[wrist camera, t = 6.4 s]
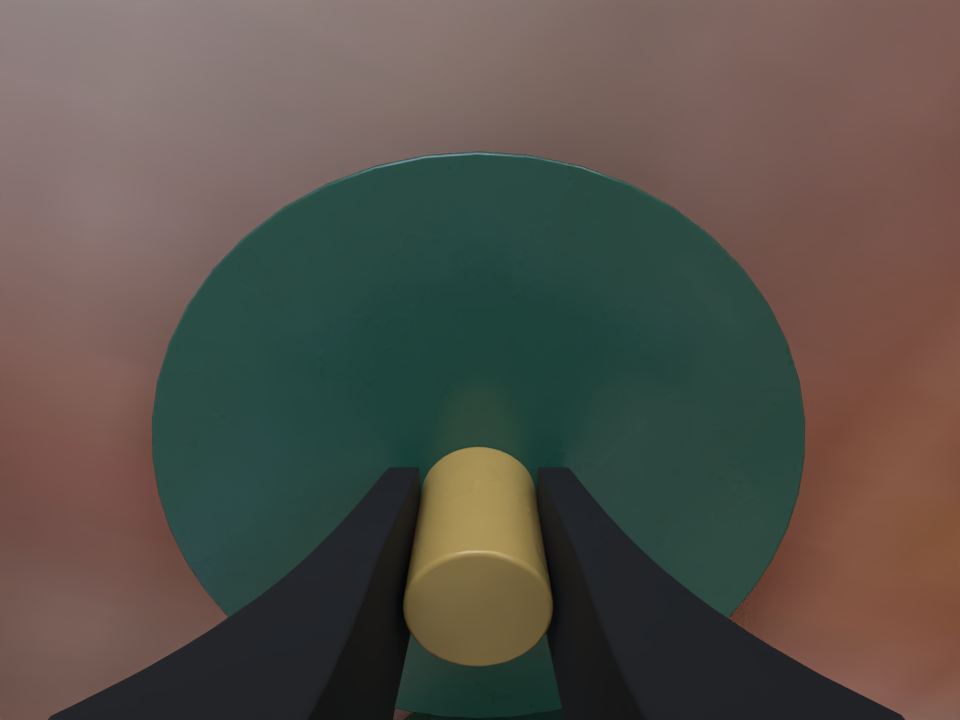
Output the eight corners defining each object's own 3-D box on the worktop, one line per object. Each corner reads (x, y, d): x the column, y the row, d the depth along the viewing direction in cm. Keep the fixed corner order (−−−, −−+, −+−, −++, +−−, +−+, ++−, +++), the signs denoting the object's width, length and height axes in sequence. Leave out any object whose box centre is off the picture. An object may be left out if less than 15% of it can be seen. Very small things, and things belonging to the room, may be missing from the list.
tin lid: (231, 680, 15) (142, 871, 11) (113, 151, 10) (-122, 154, 6) (726, 680, 15) (814, 871, 11) (844, 151, 10) (1075, 154, 6)
